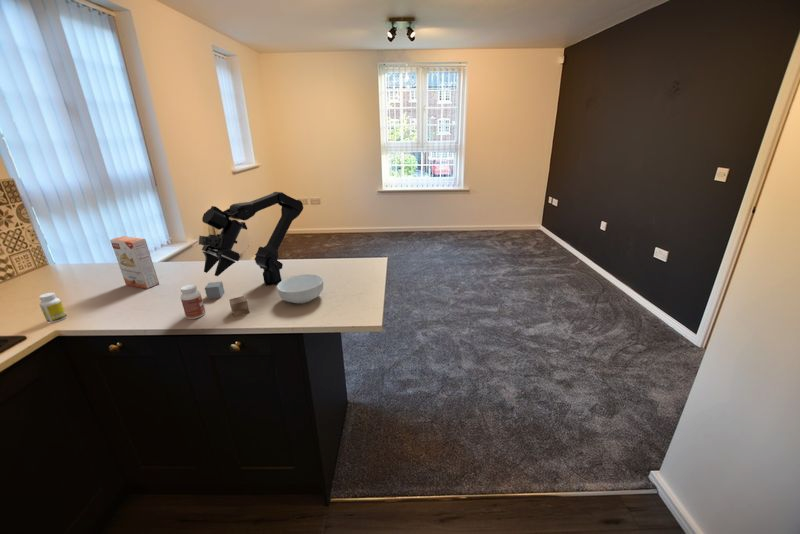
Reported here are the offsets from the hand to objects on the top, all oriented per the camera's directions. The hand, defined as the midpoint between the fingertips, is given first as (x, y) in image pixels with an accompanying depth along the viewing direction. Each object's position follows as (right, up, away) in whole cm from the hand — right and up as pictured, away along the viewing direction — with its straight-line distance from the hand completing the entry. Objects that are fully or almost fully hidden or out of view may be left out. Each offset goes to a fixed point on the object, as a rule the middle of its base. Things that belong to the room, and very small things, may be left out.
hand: (210, 274), depth 128 cm
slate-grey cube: (-5, -9, +13) cm, 16 cm away
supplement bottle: (-54, -16, -1) cm, 57 cm away
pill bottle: (-4, -15, -2) cm, 16 cm away
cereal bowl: (+31, -10, +8) cm, 34 cm away
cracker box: (-44, -5, +26) cm, 51 cm away
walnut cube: (+11, -14, -1) cm, 18 cm away
